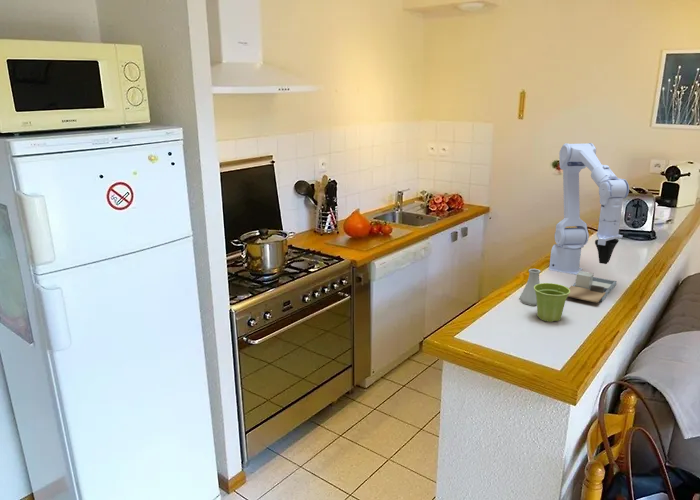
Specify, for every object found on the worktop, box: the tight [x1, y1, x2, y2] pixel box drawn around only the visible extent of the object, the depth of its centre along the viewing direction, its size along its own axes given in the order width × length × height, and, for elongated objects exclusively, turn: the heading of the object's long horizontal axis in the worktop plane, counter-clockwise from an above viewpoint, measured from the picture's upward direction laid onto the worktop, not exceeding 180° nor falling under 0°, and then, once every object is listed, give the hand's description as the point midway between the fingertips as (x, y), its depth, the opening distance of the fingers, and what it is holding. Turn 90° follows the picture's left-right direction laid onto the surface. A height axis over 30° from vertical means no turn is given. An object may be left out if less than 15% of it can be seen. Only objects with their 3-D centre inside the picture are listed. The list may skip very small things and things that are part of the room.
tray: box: [572, 276, 617, 303], centre depth 168 cm, size 10×19×2 cm, turn 142°
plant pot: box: [534, 282, 570, 323], centre depth 147 cm, size 9×9×9 cm
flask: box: [518, 268, 542, 306], centre depth 158 cm, size 7×7×10 cm
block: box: [575, 270, 594, 289], centre depth 166 cm, size 4×4×6 cm
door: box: [567, 285, 606, 304], centre depth 160 cm, size 10×9×2 cm
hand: (604, 262), depth 164 cm, fingers closed
